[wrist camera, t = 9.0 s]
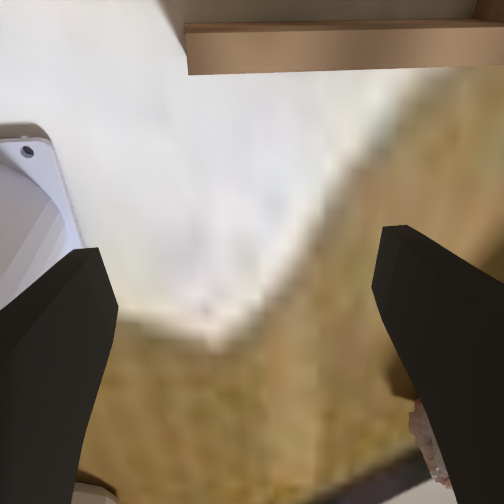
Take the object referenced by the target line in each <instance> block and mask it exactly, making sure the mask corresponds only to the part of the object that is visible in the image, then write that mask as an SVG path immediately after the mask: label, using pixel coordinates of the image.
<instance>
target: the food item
mask: <svg viewBox="0 0 504 504" xmlns="http://www.w3.org/2000/svg"><path fill="white" fill-rule="evenodd" d="M409 431H410V433H411V434H413V435H414V437H415V440H416V444H417V445H418V446H419V448H420V450H421V452H422V453H423V456H424V459H425V461H426V463H427V464H428V468H429V471H430V473H431V475H432V477H434V479H435V481H436V482H440V483H441V484H442V485H444V486H445V487H446V488H449V489H453V488H452V485H451V482H450V479H449V476H448V473H447V470H446V467H445V464H444V461H443V458H442V455H441V452H440V450H439V447H438V444H437V442H436V439H435V436H434V433H433V431H432V428H431V425H430V422H429V420H428V417H427V414H426V412H425V410H424V407H423V405H422V403H421V400H420V398H418V399H417V400H415V405H414V412H410V413H409Z"/></svg>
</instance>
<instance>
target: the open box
mask: <svg viewBox="0 0 504 504" xmlns="http://www.w3.org/2000/svg"><path fill="white" fill-rule="evenodd" d="M185 43H186V54H187V65H188V75H213V74H244V73H274V72H304V71H335V70H365V69H396V68H426V67H456V66H487V65H504V0H478V2H477V6H476V9H475V13H474V16H473V18H463V19H407V20H350V21H293V22H237V23H185Z"/></svg>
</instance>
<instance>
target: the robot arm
mask: <svg viewBox="0 0 504 504" xmlns="http://www.w3.org/2000/svg"><path fill="white" fill-rule="evenodd" d="M23 146H28V147H30V148H31V149H32V150H33V152H34V155H29V154H27V153H26V152H25V151H24V150H23ZM372 291H373V294H374V297H375V300H376V304H377V307H378V310H379V313H380V316H381V319H382V321H383V323H384V326H385V328H386V330H387V332H388V334H389V336H390V338H391V340H392V342H393V344H394V347H395V349H396V351H397V353H398V355H399V357H400V359H401V361H402V363H403V365H404V367H405V369H406V371H407V373H408V375H409V377H410V379H411V381H412V383H413V385H414V388H415V390H416V392H417V394H418V396H419V398H420V400H421V403H422V405H423V407H424V410H425V412H426V414H427V417H428V420H429V422H430V425H431V428H432V431H433V433H434V436H435V439H436V442H437V444H438V447H439V450H440V452H441V455H442V458H443V461H444V464H445V467H446V470H447V473H448V476H449V479H450V482H451V485H452V488H453V491H454V494H455V496H456V500H457V503H458V504H504V284H503V283H501V282H500V281H498V280H496V279H494V278H493V277H491V276H489V275H488V274H486V273H484V272H483V271H481V270H479V269H478V268H476V267H474V266H473V265H471V264H469V263H468V262H466V261H465V260H463V259H461V258H460V257H458V256H457V255H455V254H453V253H452V252H450V251H449V250H447V249H446V248H444V247H442V246H441V245H439V244H438V243H436V242H435V241H433V240H431V239H430V238H428V237H427V236H425V235H423V234H422V233H420V232H418V231H417V230H415V229H413V228H411V227H409V226H408V225H399V226H385V227H383V229H382V234H381V239H380V245H379V250H378V255H377V260H376V266H375V271H374V276H373V281H372ZM117 313H118V304H117V301H116V298H115V295H114V292H113V289H112V286H111V284H110V281H109V278H108V275H107V272H106V269H105V266H104V263H103V260H102V257H101V254H100V252H99V249H98V247H97V248H85V246H84V243H83V240H82V237H81V233H80V230H79V227H78V224H77V220H76V217H75V214H74V211H73V207H72V204H71V201H70V198H69V194H68V191H67V188H66V185H65V181H64V178H63V175H62V172H61V168H60V165H59V162H58V159H57V155H56V152H55V149H54V147H53V145H52V143H51V142H50V141H49V140H47V139H45V138H41V137H30V138H9V139H0V504H71V501H72V496H73V490H74V485H75V480H76V475H77V470H78V464H79V459H80V454H81V449H82V445H83V441H84V437H85V433H86V429H87V425H88V422H89V419H90V415H91V412H92V409H93V406H94V403H95V399H96V396H97V393H98V390H99V386H100V383H101V380H102V377H103V374H104V370H105V367H106V364H107V360H108V357H109V354H110V350H111V347H112V343H113V338H114V333H115V327H116V320H117Z"/></svg>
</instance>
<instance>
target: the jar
mask: <svg viewBox="0 0 504 504" xmlns="http://www.w3.org/2000/svg"><path fill="white" fill-rule="evenodd" d="M71 504H121V503H120V502H119V500H118V499H117V497H116V496H115V495H114V494H112V493H111V492H109V491H108V490H106V489H105V488H103V487H101V486H95V485H90V484H84V483H79V482H77V483H75V485H74V490H73V496H72V501H71Z"/></svg>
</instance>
